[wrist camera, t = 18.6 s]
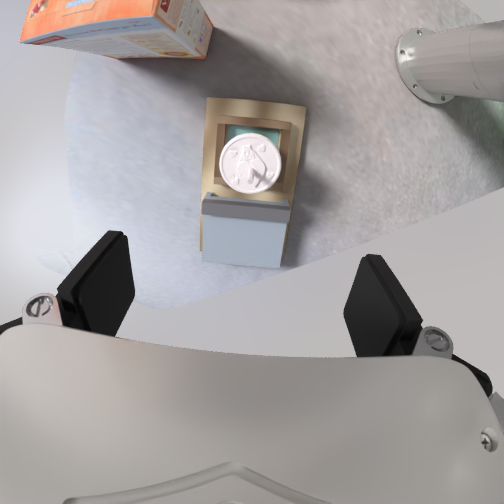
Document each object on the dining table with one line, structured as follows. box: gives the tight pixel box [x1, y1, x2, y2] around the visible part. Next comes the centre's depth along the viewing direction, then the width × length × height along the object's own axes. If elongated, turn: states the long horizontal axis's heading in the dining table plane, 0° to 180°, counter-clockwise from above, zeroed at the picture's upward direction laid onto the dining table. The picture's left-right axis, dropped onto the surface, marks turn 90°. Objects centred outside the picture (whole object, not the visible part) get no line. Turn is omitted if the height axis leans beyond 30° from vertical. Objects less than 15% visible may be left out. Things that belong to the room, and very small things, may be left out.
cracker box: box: [19, 0, 213, 60], centre depth 20 cm, size 14×6×21 cm, turn 79°
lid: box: [201, 192, 291, 269], centre depth 39 cm, size 11×10×4 cm
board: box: [200, 97, 306, 259], centre depth 38 cm, size 13×23×3 cm, turn 174°
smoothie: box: [219, 133, 281, 194], centre depth 30 cm, size 6×6×14 cm
